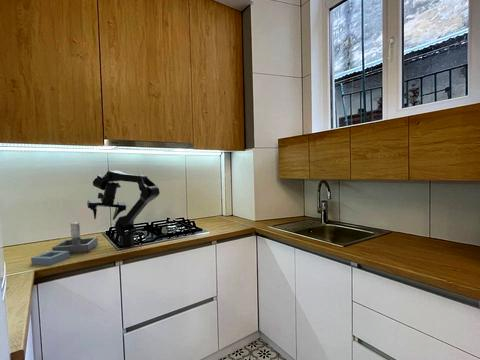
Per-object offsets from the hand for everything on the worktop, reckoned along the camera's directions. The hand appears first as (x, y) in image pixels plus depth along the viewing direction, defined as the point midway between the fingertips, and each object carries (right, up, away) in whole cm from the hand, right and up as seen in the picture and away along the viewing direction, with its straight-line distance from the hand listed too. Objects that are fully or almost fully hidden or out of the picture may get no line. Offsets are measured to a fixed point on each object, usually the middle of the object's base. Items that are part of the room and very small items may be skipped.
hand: (104, 219), depth 146 cm
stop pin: (-9, -13, -9) cm, 19 cm away
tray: (-9, -14, -9) cm, 19 cm away
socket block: (-11, -15, -25) cm, 31 cm away
